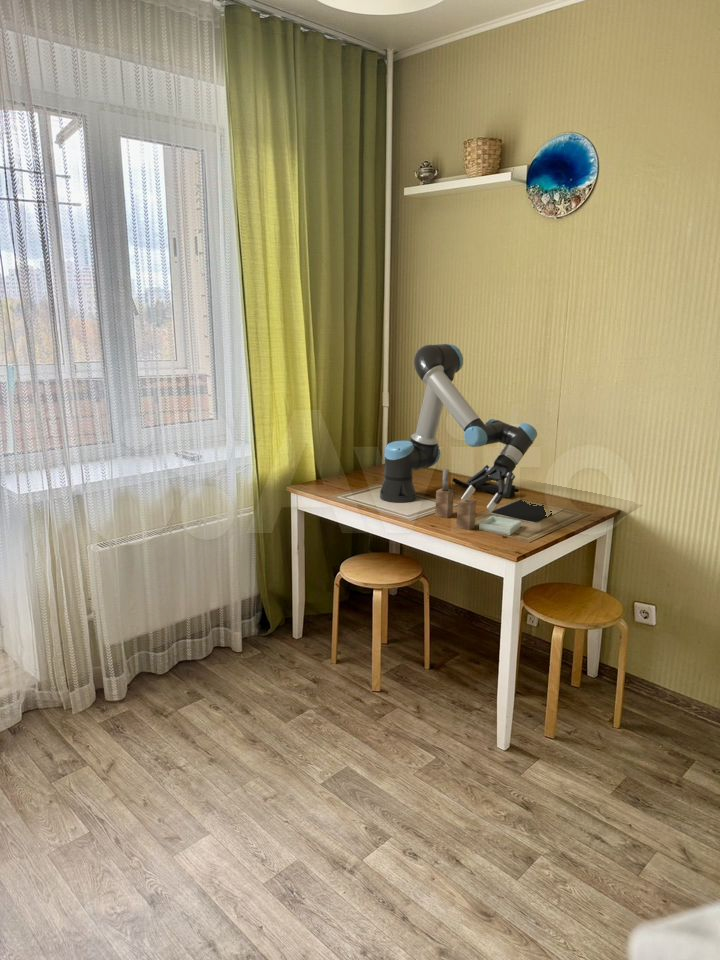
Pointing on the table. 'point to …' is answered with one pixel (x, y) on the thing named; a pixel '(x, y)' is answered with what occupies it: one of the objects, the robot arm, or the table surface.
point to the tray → (500, 525)
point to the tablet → (522, 512)
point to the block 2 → (466, 514)
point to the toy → (488, 487)
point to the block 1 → (444, 498)
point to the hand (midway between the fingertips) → (475, 505)
